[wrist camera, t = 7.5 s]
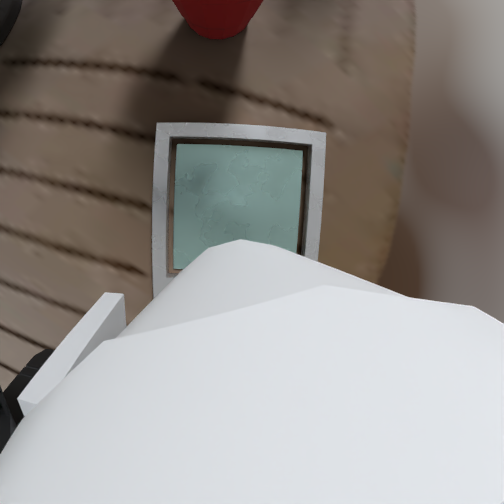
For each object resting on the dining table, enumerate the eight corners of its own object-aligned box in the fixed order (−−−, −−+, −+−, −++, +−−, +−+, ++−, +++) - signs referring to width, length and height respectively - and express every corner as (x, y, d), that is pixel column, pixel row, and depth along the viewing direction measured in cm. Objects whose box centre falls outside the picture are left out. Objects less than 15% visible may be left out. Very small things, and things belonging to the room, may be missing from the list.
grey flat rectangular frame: (167, 416, 31) (165, 424, 30) (159, 125, 25) (156, 122, 24) (292, 416, 33) (294, 423, 31) (321, 135, 27) (325, 132, 25)
